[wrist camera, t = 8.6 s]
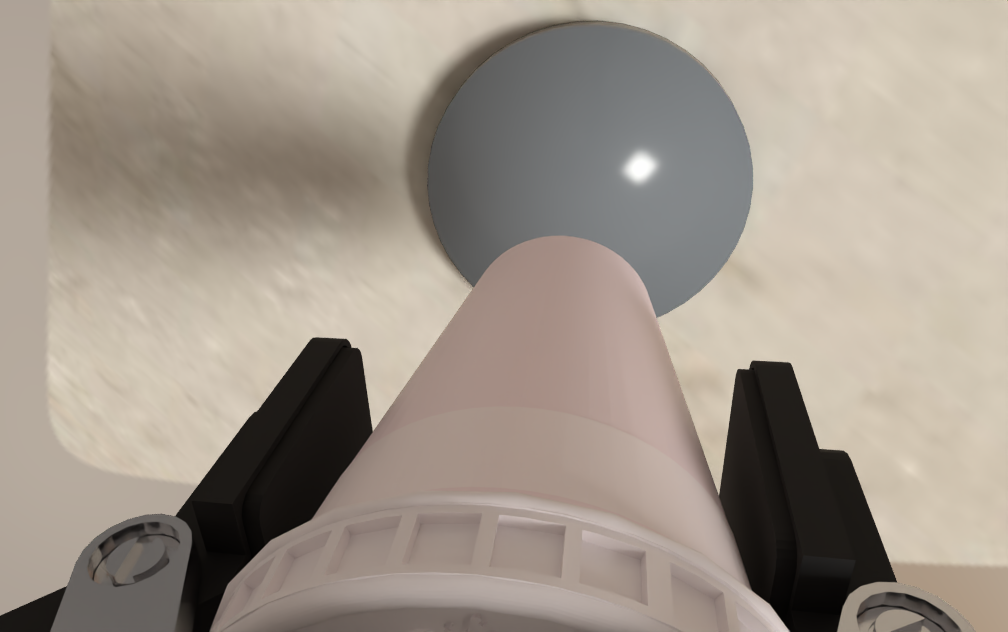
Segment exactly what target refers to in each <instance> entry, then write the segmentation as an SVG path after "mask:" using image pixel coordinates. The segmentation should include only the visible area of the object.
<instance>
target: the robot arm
mask: <svg viewBox="0 0 1008 632" xmlns="http://www.w3.org/2000/svg"><path fill="white" fill-rule="evenodd" d="M372 433H373V431H372V424H371V417H370V410H369V403H368V396H367V389H366V382H365V375H364V368H363V361H362V355H361V352H360V350H359V349H358V348H351V344H350V342H349V341H348V340H347V339H336V338H317V337H316V338H312V339H311V340H310V341H309V343H308V344H307V345H306V347H305V348H304V349H303V351H302V352H301V353H300V355H299V356H298V357H297V359H296V360H295V361H294V363H293V364H292V365H291V367H290V368H289V369H288V371H287V372H286V374H285V375H284V376H283V378H282V379H281V380H280V382H279V383H278V384H277V386H276V387H275V388H274V390H273V391H272V392H271V394H270V395H269V396H268V398H267V399H266V400H265V402H264V403H263V404H262V406H261V407H260V408H259V410H258V411H257V412H254V413H253V414H252V415H251V416H250V417H249V418H248V420H247V421H246V422H245V424H244V425H243V426H242V428H241V429H240V430H239V432H238V433H237V434H236V436H235V437H234V438H233V440H232V441H231V442H230V444H229V445H228V446H227V448H226V449H225V450H224V452H223V453H222V454H221V456H220V457H219V458H218V460H217V461H216V462H215V464H214V465H213V466H212V468H211V469H210V470H209V472H208V473H207V474H206V476H205V477H204V478H203V480H202V481H201V482H200V484H199V485H198V486H197V488H196V489H195V490H194V492H193V493H192V494H191V496H190V497H189V498H188V500H187V501H186V502H185V504H184V505H183V506H182V508H181V509H180V510H179V512H178V513H177V515H176V516H171V515H165V514H152V515H143V516H139V517H135V518H132V519H128V520H126V521H123V522H121V523H119V524H117V525H114V526H112V527H110V528H109V529H107V530H106V531H104V532H103V533H101V534H100V535H99V536H97V537H96V538H94V539H93V541H92V542H91V543H90V544H89V545H88V546H87V547H86V548H85V549H84V550H83V551H82V553H81V555H80V557H79V558H78V560H77V562H76V564H75V566H74V569H73V572H72V574H71V577H70V580H69V583H68V585H67V586H66V587H64V588H62V589H59V590H57V591H55V592H53V593H51V594H48V595H46V596H44V597H42V598H39V599H37V600H35V601H33V602H30V603H28V604H26V605H24V606H21V607H19V608H17V609H14V610H12V611H10V612H8V613H5V614H3V615H1V616H0V632H209V631H210V629H211V626H212V624H213V621H214V618H215V616H216V613H217V611H218V608H219V605H220V603H221V600H222V598H223V595H224V592H225V590H226V587H227V585H228V583H229V582H230V581H231V580H232V579H233V578H234V577H235V576H236V575H237V574H238V573H239V572H240V571H241V570H242V569H243V568H244V567H245V566H246V565H247V564H248V563H249V562H250V561H251V560H252V559H253V558H254V557H255V556H256V555H257V554H258V553H259V552H260V551H261V550H262V549H263V548H264V547H265V546H266V545H267V544H268V543H269V542H270V541H271V540H272V539H274V538H276V537H278V536H280V535H282V534H284V533H286V532H288V531H290V530H292V529H294V528H296V527H298V526H300V525H302V524H304V523H306V522H308V521H310V520H312V518H313V517H314V515H315V514H316V512H317V511H318V509H319V508H320V506H321V505H322V503H323V502H324V500H325V499H326V497H327V496H328V494H329V493H330V491H331V490H332V488H333V487H334V485H335V484H336V482H337V481H338V479H339V478H340V476H341V475H342V474H343V473H344V471H345V470H346V469H347V468H348V466H349V465H350V464H351V463H352V461H353V460H354V458H355V457H356V455H357V454H358V453H359V451H360V450H361V448H362V447H363V445H364V444H365V443H366V441H367V440H368V438H369V437H370V435H371V434H372ZM719 498H720V501H721V504H722V507H723V510H724V512H725V515H726V518H727V521H728V524H729V526H730V528H731V530H732V532H733V534H734V537H735V540H736V543H737V547H738V549H739V553H740V556H741V559H742V562H743V565H744V568H745V571H746V574H747V577H748V580H749V583H750V586H751V589H752V591H753V592H754V593H755V594H757V595H758V596H759V597H761V598H762V599H763V600H765V601H766V602H767V603H769V604H770V606H771V607H772V608H773V610H774V611H775V612H776V614H777V615H778V616H779V618H780V619H781V620H782V622H783V623H784V624H785V626H786V627H787V629H788V630H789V631H790V632H975V630H974V628H973V626H972V625H971V624H970V623H969V622H968V621H967V620H966V619H965V618H964V617H963V616H962V615H961V614H960V613H959V612H958V610H956V609H955V608H954V607H952V606H951V605H949V604H948V603H946V602H945V601H943V600H942V599H940V598H939V597H938V596H935V595H933V594H931V593H929V592H926V591H924V590H922V589H920V588H917V587H914V586H909V585H905V584H901V583H897V581H896V578H895V575H894V572H893V570H892V567H891V565H890V562H889V559H888V557H887V554H886V551H885V549H884V546H883V543H882V541H881V538H880V535H879V533H878V530H877V527H876V525H875V522H874V520H873V517H872V514H871V512H870V509H869V506H868V504H867V501H866V498H865V496H864V493H863V490H862V488H861V485H860V483H859V480H858V477H857V475H856V472H855V469H854V467H853V464H852V461H851V459H850V457H849V455H848V454H847V453H846V452H845V451H840V450H826V449H819V447H818V444H817V441H816V438H815V435H814V431H813V428H812V425H811V422H810V419H809V416H808V413H807V410H806V407H805V404H804V401H803V398H802V395H801V392H800V389H799V386H798V383H797V380H796V377H795V374H794V370H793V367H792V365H791V363H788V362H769V361H752V362H751V365H750V368H749V370H746V369H738V370H737V373H736V378H735V385H734V392H733V400H732V407H731V414H730V421H729V429H728V436H727V443H726V450H725V458H724V465H723V472H722V479H721V487H720V494H719Z"/></svg>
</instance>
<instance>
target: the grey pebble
mask: <svg viewBox="0 0 1008 632" xmlns="http://www.w3.org/2000/svg"><path fill="white" fill-rule="evenodd" d="M427 186H428V196H429V205H430V210H431V214H432V218H433V222H434V225H435V228H436V230H437V233H438V236H439V238H440V241H441V243H442V245H443V246H444V248H445V250H446V252H447V254H448V256H449V258H450V259H451V260H452V262H453V263H454V265H455V266H456V267H457V269H458V270H459V271H460V273H461V274H462V275H463V276H464V277H465V278H466V279H467V280H468V282H469V283H470V284H471V285H472V286H473V287H475V285H476V284H477V282H478V281H479V279H480V278H481V277H482V275H483V274H484V272H485V271H486V270H487V268H488V267H489V266H490V265H491V264H492V263H493V262H494V261H495V260H496V259H497V258H498V257H499V256H500V255H501V254H503V253H504V252H506V251H507V250H509V249H510V248H512V247H514V246H516V245H518V244H520V243H523V242H525V241H528V240H532V239H535V238H540V237H547V236H572V237H578V238H582V239H586V240H590V241H593V242H596V243H598V244H600V245H603V246H605V247H607V248H608V249H610V250H612V251H614V252H615V253H616V254H618V255H619V256H621V257H622V258H623V259H624V260H625V261H626V262H628V263H629V264H630V266H631V267H632V268H633V269H634V270H635V271H636V273H637V274H638V275H639V277H640V278H641V280H642V282H643V283H644V285H645V288H646V290H647V292H648V295H649V298H650V301H651V304H652V306H653V309H654V312H655V315H656V318H657V317H659V316H662V315H664V314H666V313H668V312H670V311H672V310H673V309H675V308H677V307H678V306H680V305H682V304H684V303H685V302H686V301H688V300H689V299H690V298H692V297H693V296H694V295H696V294H697V293H698V292H700V291H701V290H702V289H703V288H704V287H705V286H706V285H707V284H708V283H709V282H710V281H711V280H712V279H713V278H714V277H715V276H716V274H717V273H718V272H719V271H720V269H721V268H722V267H723V266H724V264H725V263H726V262H727V260H728V258H729V257H730V255H731V254H732V252H733V250H734V249H735V247H736V245H737V243H738V241H739V238H740V236H741V234H742V232H743V229H744V227H745V224H746V220H747V217H748V213H749V210H750V205H751V197H752V190H753V165H752V159H751V152H750V146H749V143H748V139H747V136H746V133H745V130H744V126H743V124H742V122H741V120H740V118H739V116H738V114H737V112H736V110H735V108H734V105H733V103H732V101H731V99H730V98H729V96H728V95H727V93H726V92H725V90H724V89H723V87H722V86H721V84H720V83H719V81H718V80H717V79H716V78H715V77H714V76H713V75H712V74H711V72H710V71H709V70H708V69H707V68H706V67H705V66H704V65H703V64H702V63H701V62H700V61H698V60H697V59H696V58H695V57H694V56H692V55H691V54H690V53H689V52H688V51H686V50H685V49H683V48H681V47H680V46H678V45H677V44H675V43H673V42H672V41H670V40H668V39H667V38H664V37H662V36H660V35H657V34H655V33H652V32H650V31H648V30H645V29H641V28H637V27H634V26H630V25H626V24H620V23H612V22H603V21H586V22H573V23H566V24H560V25H554V26H551V27H548V28H544V29H541V30H538V31H535V32H532V33H530V34H528V35H525V36H523V37H521V38H519V39H517V40H515V41H513V42H511V43H509V44H508V45H506V46H505V47H503V48H502V49H500V50H498V51H497V52H495V53H494V54H493V55H492V56H490V57H489V58H488V59H487V60H486V61H484V62H483V63H482V64H481V65H480V66H479V67H478V68H477V69H476V70H475V71H474V72H473V73H472V74H471V75H470V76H469V78H468V79H467V80H466V81H465V82H464V83H463V85H462V86H461V88H460V89H459V91H458V92H457V94H456V95H455V97H454V98H453V100H452V101H451V103H450V104H449V106H448V108H447V109H446V111H445V114H444V116H443V118H442V120H441V122H440V124H439V126H438V128H437V131H436V135H435V138H434V141H433V144H432V147H431V153H430V159H429V164H428V184H427Z"/></svg>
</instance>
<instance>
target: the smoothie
mask: <svg viewBox="0 0 1008 632" xmlns="http://www.w3.org/2000/svg"><path fill="white" fill-rule="evenodd" d="M209 632H790V631H789V630H788V629H787V627H786V626H785V624H784V623H783V622H782V620H781V619H780V618H779V616H778V615H777V614H776V612H775V611H774V610H773V608H772V607H771V606H770V604H769V603H767V602H766V601H765V600H763V599H762V598H761V597H759V596H758V595H757V594H755V593H754V592H753V591H752V589H751V586H750V583H749V580H748V577H747V574H746V571H745V568H744V565H743V562H742V559H741V556H740V553H739V549H738V547H737V543H736V540H735V537H734V534H733V532H732V530H731V528H730V526H729V524H728V521H727V518H726V515H725V512H724V510H723V507H722V504H721V501H720V498H719V495H718V492H717V489H716V487H715V484H714V481H713V478H712V475H711V472H710V469H709V467H708V464H707V461H706V458H705V455H704V452H703V449H702V447H701V444H700V441H699V438H698V435H697V432H696V429H695V427H694V424H693V421H692V418H691V415H690V412H689V409H688V407H687V404H686V401H685V398H684V395H683V392H682V389H681V387H680V384H679V381H678V378H677V375H676V372H675V369H674V366H673V364H672V361H671V358H670V355H669V352H668V349H667V346H666V344H665V341H664V338H663V335H662V332H661V329H660V326H659V324H658V321H657V318H656V315H655V312H654V309H653V306H652V304H651V301H650V298H649V295H648V292H647V290H646V288H645V285H644V283H643V282H642V280H641V278H640V277H639V275H638V274H637V273H636V271H635V270H634V269H633V268H632V267H631V266H630V264H629V263H628V262H626V261H625V260H624V259H623V258H622V257H621V256H619V255H618V254H616V253H615V252H614V251H612V250H610V249H608V248H607V247H605V246H603V245H600V244H598V243H596V242H593V241H590V240H586V239H582V238H578V237H572V236H547V237H540V238H535V239H532V240H528V241H525V242H523V243H520V244H518V245H516V246H514V247H512V248H510V249H509V250H507V251H506V252H504V253H503V254H501V255H500V256H499V257H498V258H497V259H496V260H495V261H494V262H493V263H492V264H491V265H490V266H489V267H488V268H487V270H486V271H485V272H484V274H483V275H482V277H481V278H480V279H479V281H478V282H477V284H476V285H475V287H474V288H473V289H472V291H471V292H470V294H469V295H468V297H467V298H466V299H465V301H464V302H463V304H462V305H461V307H460V308H459V309H458V311H457V312H456V314H455V315H454V317H453V318H452V320H451V321H450V322H449V324H448V325H447V327H446V328H445V330H444V331H443V332H442V334H441V335H440V337H439V338H438V340H437V341H436V342H435V344H434V345H433V347H432V348H431V350H430V351H429V352H428V354H427V355H426V357H425V358H424V360H423V361H422V362H421V364H420V365H419V367H418V368H417V370H416V371H415V372H414V374H413V375H412V377H411V378H410V380H409V381H408V382H407V384H406V385H405V387H404V388H403V390H402V391H401V392H400V394H399V395H398V397H397V398H396V400H395V401H394V402H393V404H392V405H391V407H390V408H389V410H388V411H387V412H386V414H385V415H384V417H383V418H382V420H381V421H380V423H379V424H378V425H377V427H376V428H375V430H374V431H373V433H372V434H371V435H370V437H369V438H368V440H367V441H366V443H365V444H364V445H363V447H362V448H361V450H360V451H359V453H358V454H357V455H356V457H355V458H354V460H353V461H352V463H351V464H350V465H349V466H348V468H347V469H346V470H345V471H344V473H343V474H342V475H341V476H340V478H339V479H338V481H337V482H336V484H335V485H334V487H333V488H332V490H331V491H330V493H329V494H328V496H327V497H326V499H325V500H324V502H323V503H322V505H321V506H320V508H319V509H318V511H317V512H316V514H315V515H314V517H313V518H312V520H310V521H308V522H306V523H304V524H302V525H300V526H298V527H296V528H294V529H292V530H290V531H288V532H286V533H284V534H282V535H280V536H278V537H276V538H274V539H272V540H271V541H270V542H269V543H268V544H267V545H266V546H265V547H264V548H263V549H262V550H261V551H260V552H259V553H258V554H257V555H256V556H255V557H254V558H253V559H252V560H251V561H250V562H249V563H248V564H247V565H246V566H245V567H244V568H243V569H242V570H241V571H240V572H239V573H238V574H237V575H236V576H235V577H234V578H233V579H232V580H231V581H230V582H229V583H228V585H227V587H226V590H225V592H224V595H223V598H222V600H221V603H220V605H219V608H218V611H217V613H216V616H215V618H214V621H213V624H212V626H211V629H210V631H209Z"/></svg>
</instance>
